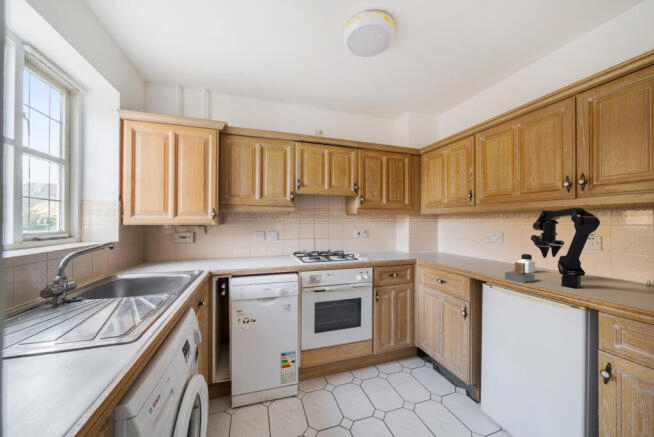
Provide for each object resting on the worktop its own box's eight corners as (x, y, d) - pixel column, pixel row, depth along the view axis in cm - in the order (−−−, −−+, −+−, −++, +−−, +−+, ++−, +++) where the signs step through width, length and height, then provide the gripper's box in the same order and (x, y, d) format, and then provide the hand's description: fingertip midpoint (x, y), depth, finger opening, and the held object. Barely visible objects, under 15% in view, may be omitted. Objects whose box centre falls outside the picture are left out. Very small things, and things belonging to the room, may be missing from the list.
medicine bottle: (535, 272, 167) (535, 254, 167) (528, 273, 165) (528, 255, 165) (523, 270, 174) (523, 253, 174) (516, 271, 171) (516, 253, 171)
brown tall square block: (524, 280, 146) (524, 263, 146) (522, 281, 144) (523, 263, 144) (516, 278, 149) (516, 262, 149) (514, 279, 147) (514, 262, 147)
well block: (534, 281, 144) (534, 274, 144) (523, 282, 140) (523, 275, 140) (515, 277, 153) (515, 270, 153) (505, 278, 149) (505, 272, 149)
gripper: (542, 230, 160) (542, 254, 160) (524, 230, 153) (524, 256, 153) (564, 231, 149) (564, 257, 149) (546, 231, 142) (545, 259, 142)
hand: (549, 257), depth 149 cm, fingers open, 9 cm apart
